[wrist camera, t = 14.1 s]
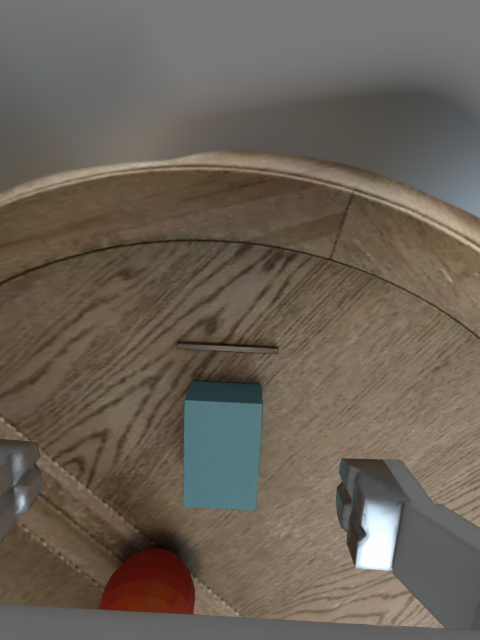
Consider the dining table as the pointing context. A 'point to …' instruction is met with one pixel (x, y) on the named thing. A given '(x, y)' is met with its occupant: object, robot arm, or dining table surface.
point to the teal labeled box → (222, 445)
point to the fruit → (150, 584)
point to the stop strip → (227, 347)
